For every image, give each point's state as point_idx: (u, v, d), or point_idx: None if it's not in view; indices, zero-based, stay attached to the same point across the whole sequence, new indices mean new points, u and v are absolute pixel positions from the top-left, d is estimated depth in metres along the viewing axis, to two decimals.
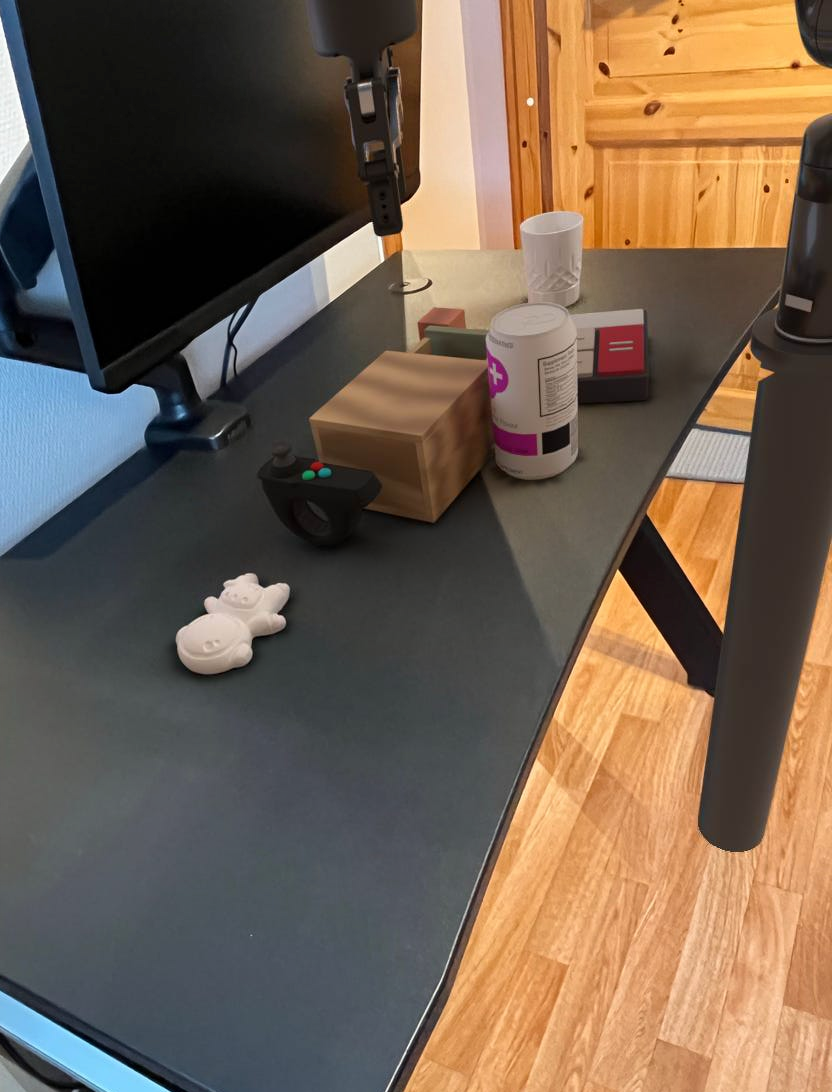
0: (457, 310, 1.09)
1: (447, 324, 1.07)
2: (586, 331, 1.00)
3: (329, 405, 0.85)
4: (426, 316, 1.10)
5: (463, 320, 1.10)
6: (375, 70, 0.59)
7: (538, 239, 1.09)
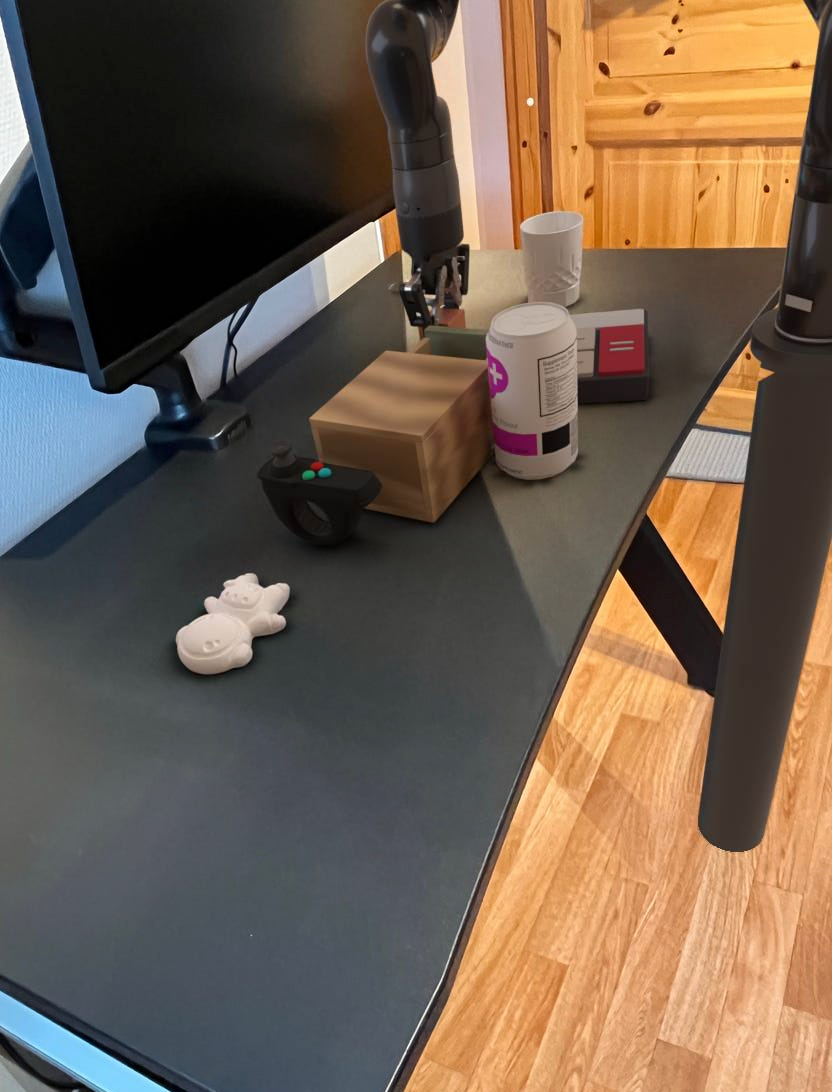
0: (457, 310, 1.09)
1: (447, 324, 1.07)
2: (586, 331, 0.99)
3: (329, 405, 0.85)
4: None
5: (463, 320, 1.10)
6: (421, 270, 1.02)
7: (538, 239, 1.09)
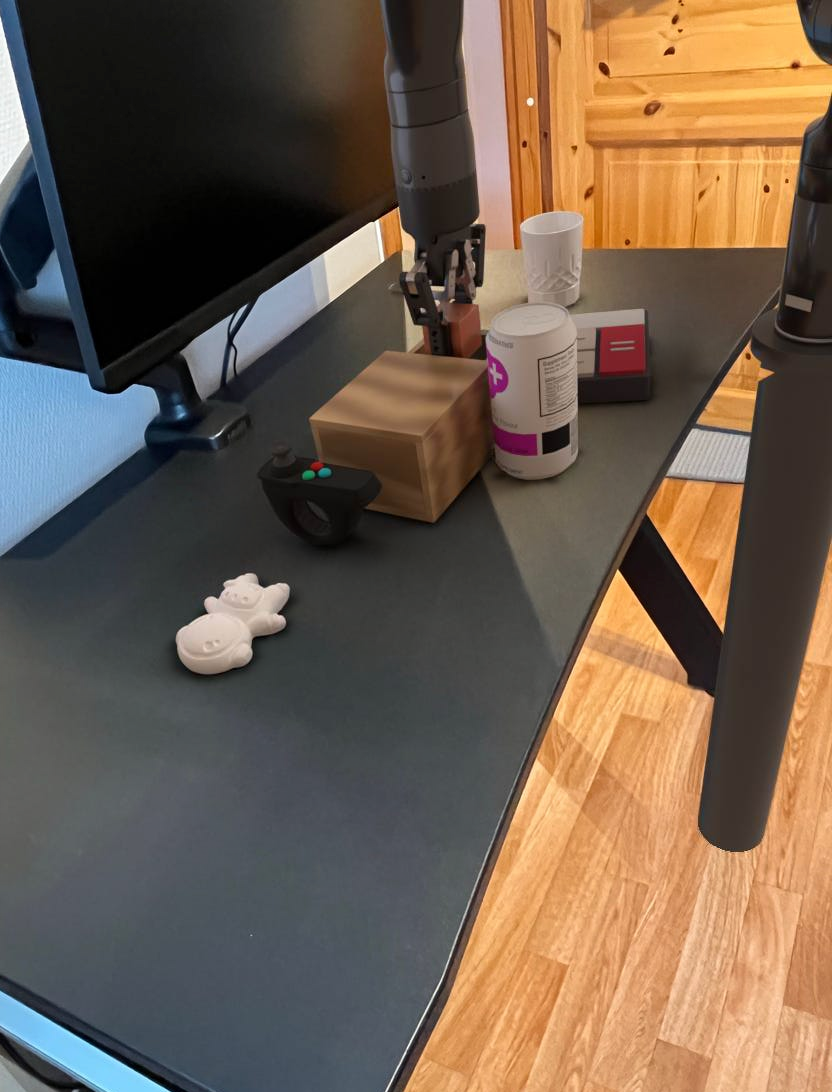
0: (470, 305, 0.89)
1: (458, 322, 0.87)
2: (587, 331, 0.99)
3: (329, 405, 0.85)
4: None
5: (477, 318, 0.90)
6: (427, 255, 0.82)
7: (538, 239, 1.09)
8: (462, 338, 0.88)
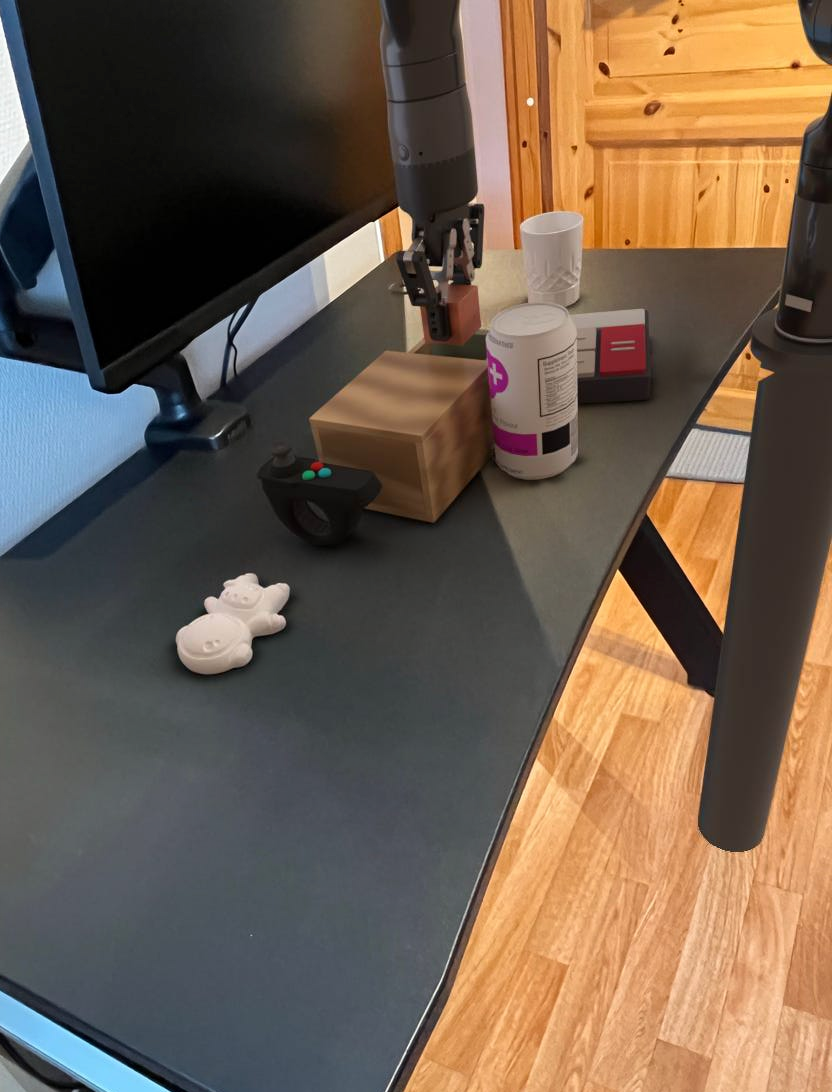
0: (469, 286, 0.88)
1: (456, 303, 0.86)
2: (587, 331, 0.99)
3: (329, 405, 0.85)
4: None
5: (476, 299, 0.89)
6: (425, 234, 0.80)
7: (538, 239, 1.09)
8: (461, 319, 0.87)
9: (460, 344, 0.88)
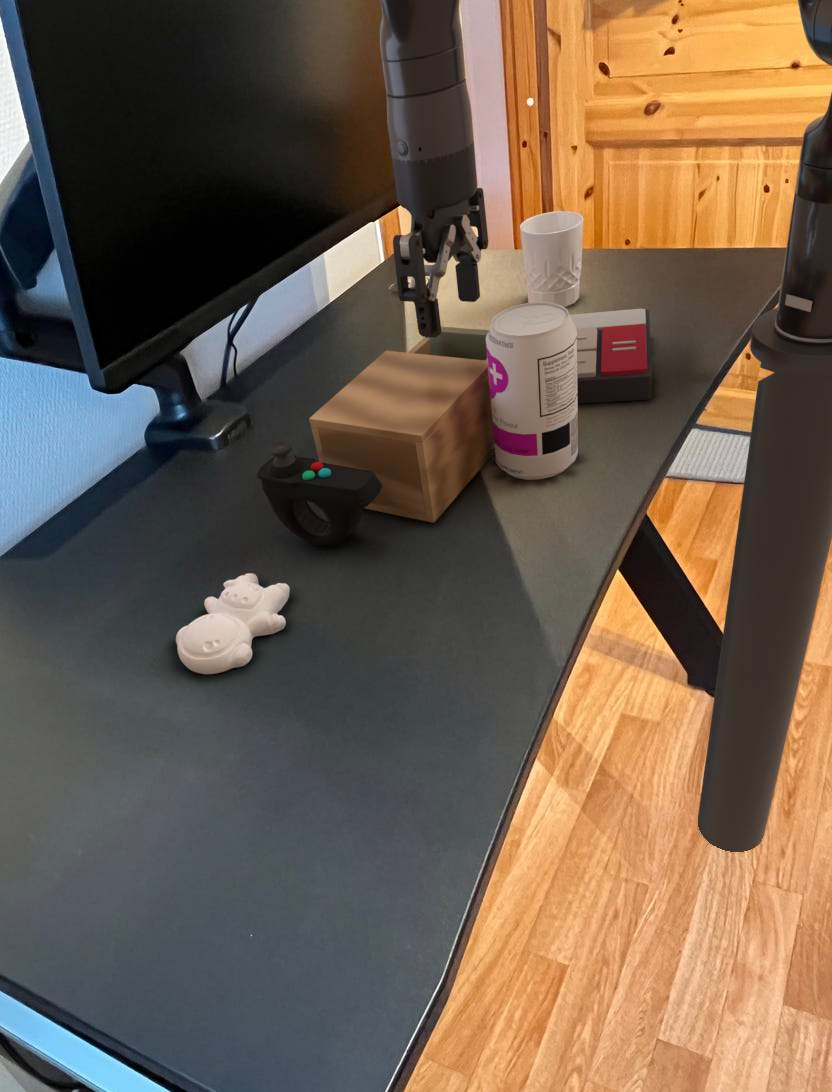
0: None
1: None
2: (588, 331, 0.99)
3: (329, 405, 0.85)
4: None
5: None
6: (424, 225, 0.80)
7: (538, 239, 1.09)
8: None
9: None
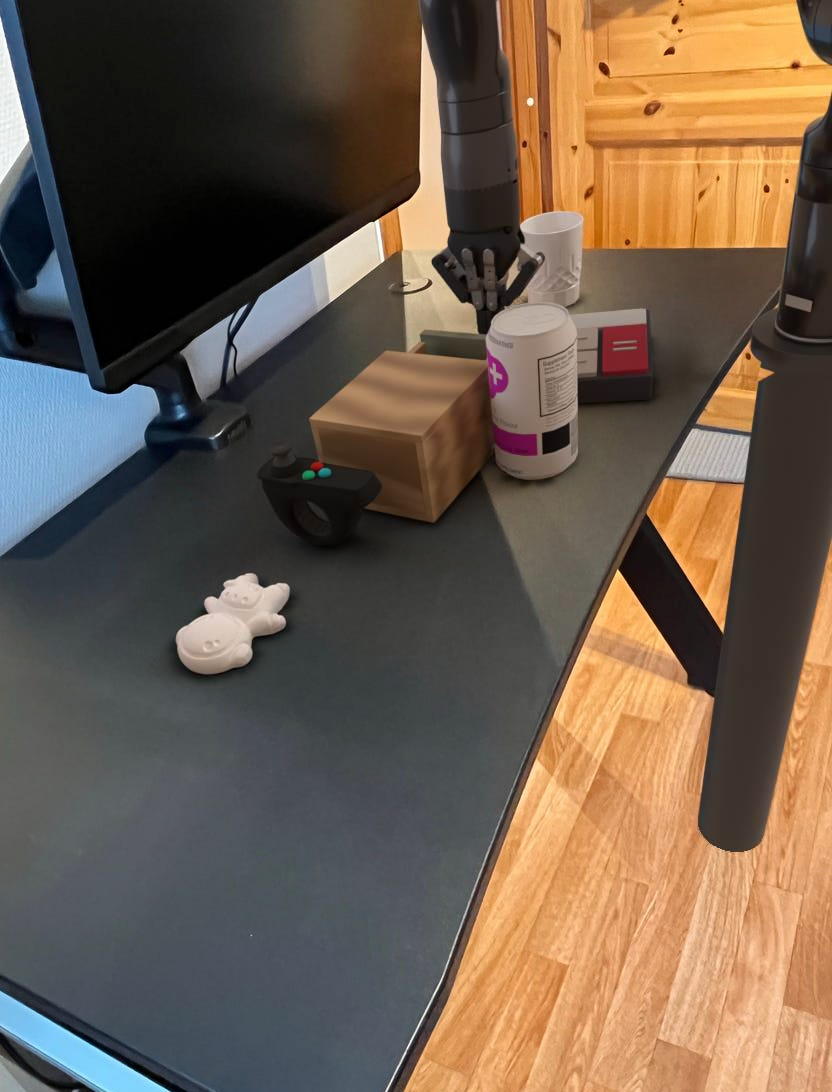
0: None
1: None
2: (589, 331, 0.99)
3: (329, 405, 0.85)
4: None
5: None
6: None
7: (538, 239, 1.09)
8: None
9: None
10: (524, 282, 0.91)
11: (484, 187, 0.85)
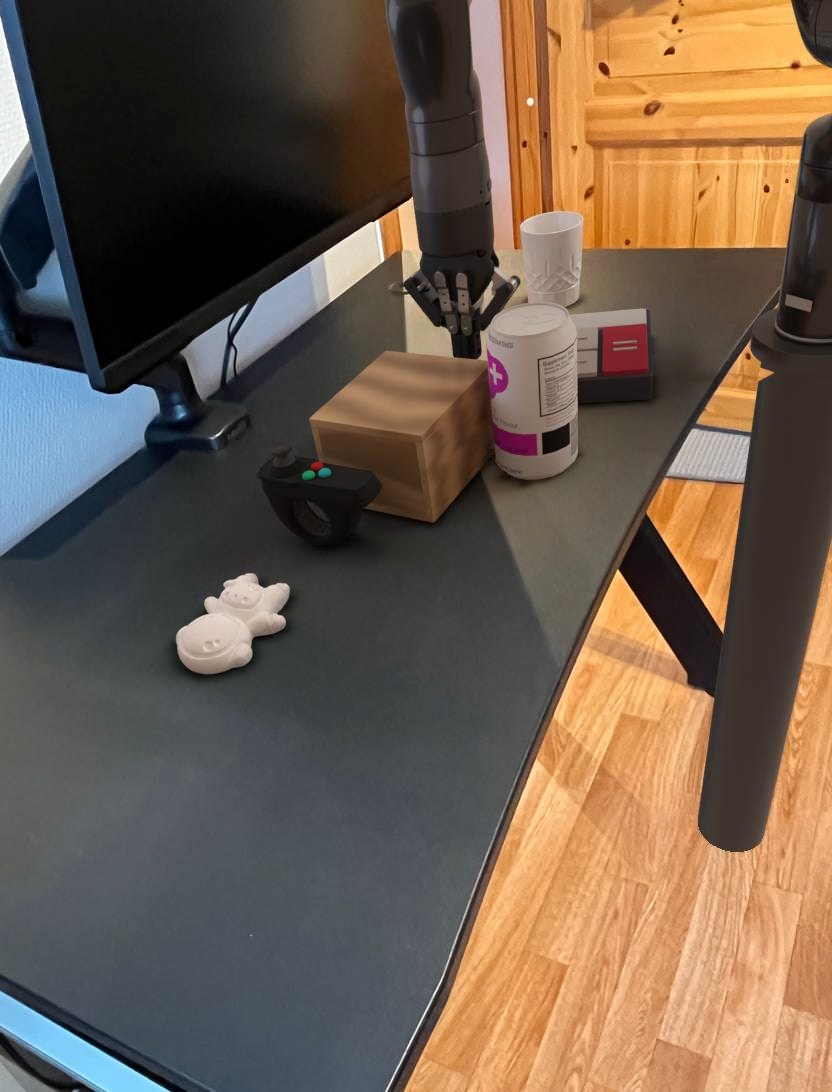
0: None
1: None
2: (589, 331, 0.99)
3: (329, 405, 0.85)
4: None
5: None
6: None
7: (538, 239, 1.09)
8: None
9: None
10: (499, 306, 0.88)
11: (455, 210, 0.82)
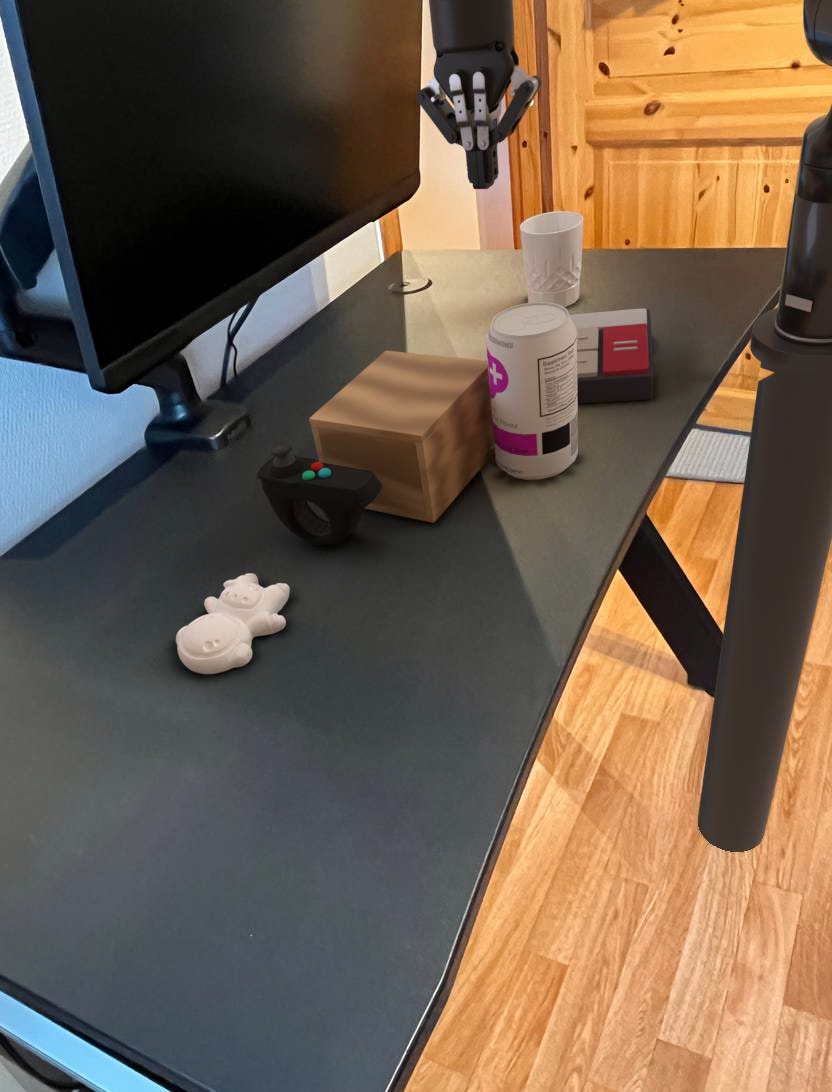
0: None
1: None
2: (590, 331, 0.99)
3: (329, 405, 0.85)
4: None
5: None
6: (433, 70, 0.85)
7: (538, 239, 1.09)
8: None
9: None
10: (518, 110, 0.83)
11: None
